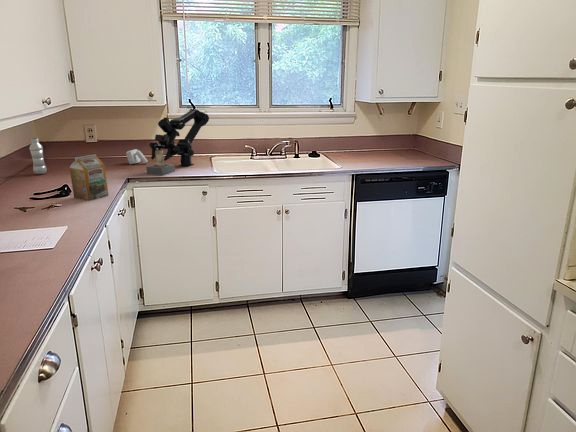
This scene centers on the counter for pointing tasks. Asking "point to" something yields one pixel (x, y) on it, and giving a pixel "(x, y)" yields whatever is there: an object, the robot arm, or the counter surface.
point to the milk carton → (88, 178)
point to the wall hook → (135, 157)
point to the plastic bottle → (37, 157)
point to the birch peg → (159, 158)
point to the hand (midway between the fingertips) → (158, 159)
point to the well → (160, 169)
